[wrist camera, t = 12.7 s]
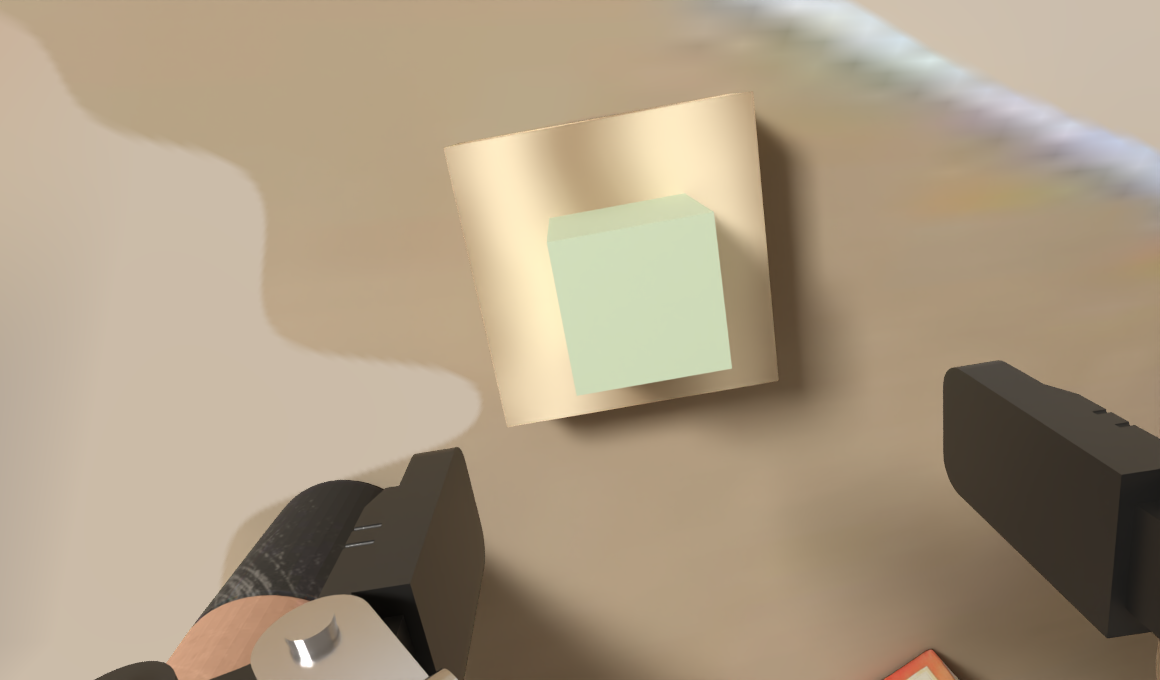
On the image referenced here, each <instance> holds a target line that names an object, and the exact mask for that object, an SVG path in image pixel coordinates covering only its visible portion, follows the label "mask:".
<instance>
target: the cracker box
mask: <svg viewBox="0 0 1160 680" xmlns="http://www.w3.org/2000/svg"><path fill="white" fill-rule="evenodd" d="M883 680H959V679H958V678H957V677H956V676H955V675H954V674H953V673H952V671H951V670H950V669H949V668H948V667H947V666H946V665H945V663H944V662H943V661H942V660H941V659H940V658H939V657H938V656H937V654H936V653H935V652H934V651H933V650H928V651H925V652H924V653H922V654H921V655H919V656H918V657H917V658H915V659H914V660H912V661H911V662H909V663H908V664H906V665H905V666H903V667H902V668H900V669H899V670H897V671H896V672H894V673H893V674H891V675H890V676H888V677H886V678H885V679H883Z"/></svg>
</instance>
